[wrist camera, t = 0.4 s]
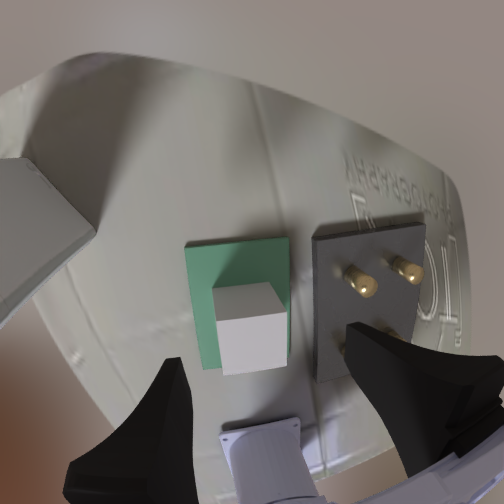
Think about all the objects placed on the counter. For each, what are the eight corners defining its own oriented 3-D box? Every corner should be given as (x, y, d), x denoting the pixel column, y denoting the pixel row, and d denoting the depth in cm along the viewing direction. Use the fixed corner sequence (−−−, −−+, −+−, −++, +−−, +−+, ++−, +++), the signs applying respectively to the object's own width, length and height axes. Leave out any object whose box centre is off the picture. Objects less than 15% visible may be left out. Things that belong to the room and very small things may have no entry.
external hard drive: (26, 153, 15) (-107, 168, 4) (99, 230, 18) (-4, 324, 6) (14, 171, 16) (-115, 201, 4) (86, 247, 18) (-14, 350, 7)
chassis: (403, 348, 26) (422, 367, 23) (313, 376, 25) (327, 402, 22) (418, 221, 22) (446, 232, 19) (311, 237, 21) (332, 252, 18)
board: (286, 351, 24) (306, 393, 19) (202, 363, 23) (206, 409, 18) (285, 235, 21) (313, 259, 16) (184, 245, 20) (181, 273, 15)
